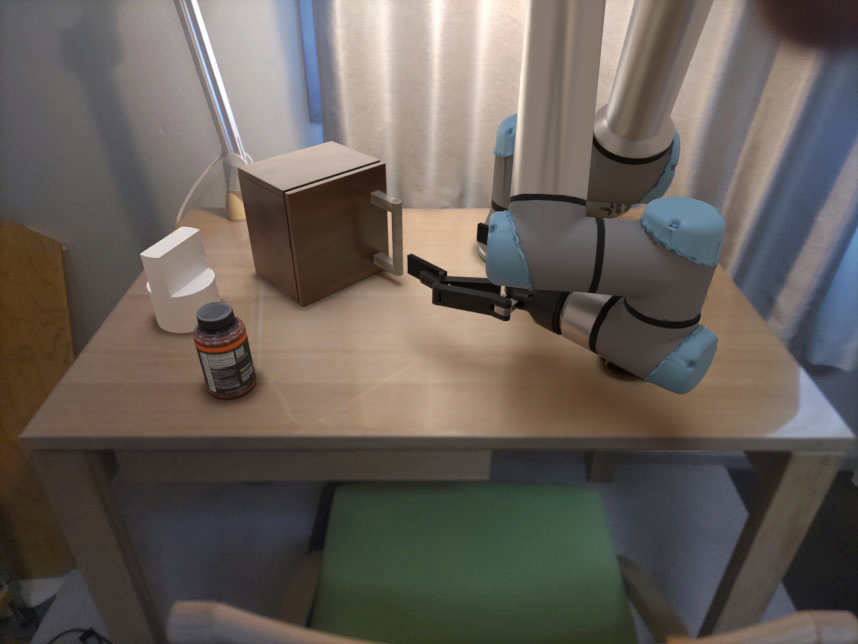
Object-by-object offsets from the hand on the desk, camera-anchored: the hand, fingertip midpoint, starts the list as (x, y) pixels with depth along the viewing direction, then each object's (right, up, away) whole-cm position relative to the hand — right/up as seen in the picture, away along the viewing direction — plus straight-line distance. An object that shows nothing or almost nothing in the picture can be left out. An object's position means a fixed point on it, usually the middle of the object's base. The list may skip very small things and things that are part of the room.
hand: (445, 246), depth 83 cm
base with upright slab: (-37, -10, +5) cm, 38 cm away
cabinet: (-20, -2, +16) cm, 25 cm away
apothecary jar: (+28, +7, +29) cm, 41 cm away
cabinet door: (-13, -6, +10) cm, 17 cm away
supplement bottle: (-27, -18, -8) cm, 33 cm away
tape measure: (+24, -16, -3) cm, 29 cm away
